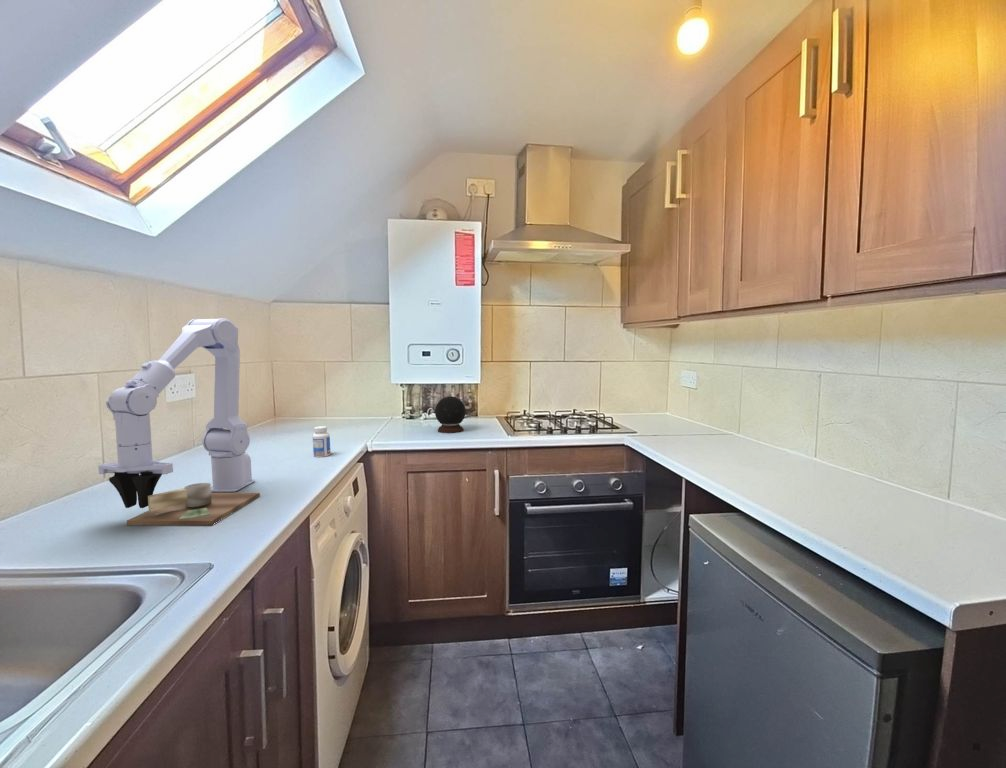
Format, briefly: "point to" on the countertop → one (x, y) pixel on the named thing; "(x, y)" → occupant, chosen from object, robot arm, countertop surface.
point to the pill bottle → (321, 442)
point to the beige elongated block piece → (182, 497)
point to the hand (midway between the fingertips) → (138, 506)
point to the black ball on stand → (450, 414)
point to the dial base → (196, 511)
